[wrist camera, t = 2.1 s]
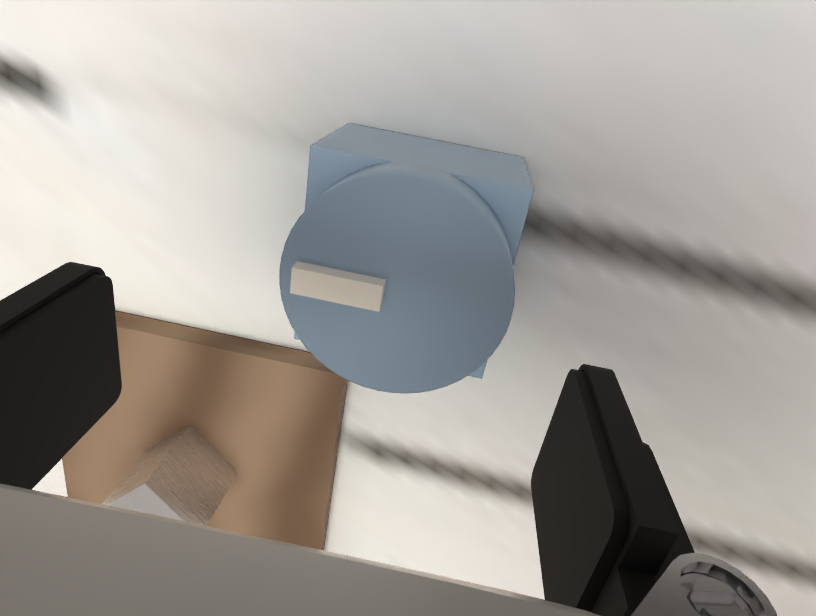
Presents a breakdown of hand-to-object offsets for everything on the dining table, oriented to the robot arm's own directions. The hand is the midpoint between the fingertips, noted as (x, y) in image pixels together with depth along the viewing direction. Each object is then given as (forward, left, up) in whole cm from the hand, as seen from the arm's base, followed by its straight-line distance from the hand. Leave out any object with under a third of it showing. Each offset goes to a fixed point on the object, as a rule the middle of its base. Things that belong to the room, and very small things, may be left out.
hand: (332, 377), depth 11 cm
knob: (-1, 0, -12) cm, 12 cm away
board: (+8, +14, -12) cm, 20 cm away
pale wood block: (+8, +14, -11) cm, 20 cm away
